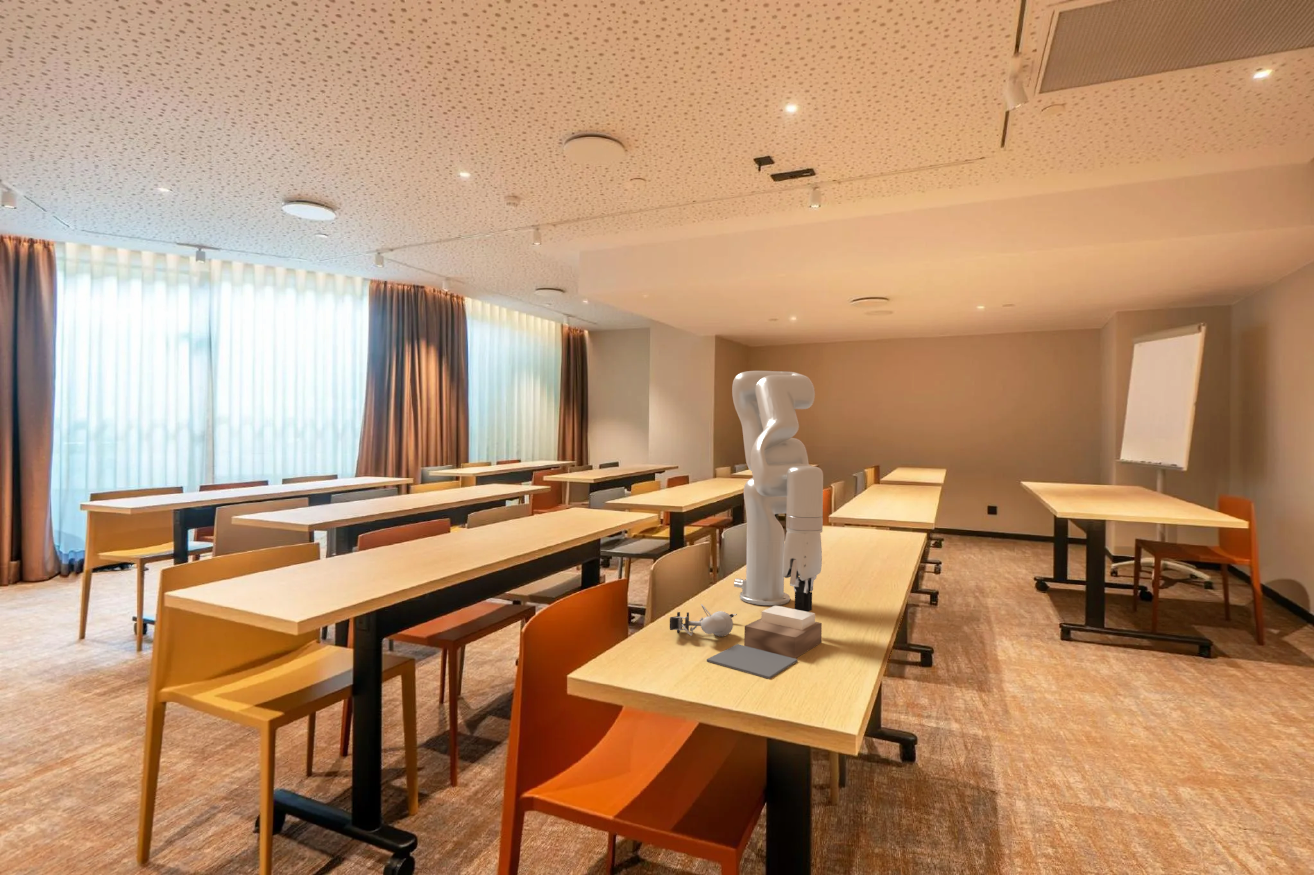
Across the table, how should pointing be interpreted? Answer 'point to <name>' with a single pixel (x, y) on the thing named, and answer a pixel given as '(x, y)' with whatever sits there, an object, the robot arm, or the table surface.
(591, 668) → the table surface
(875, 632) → the table surface
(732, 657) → the mat
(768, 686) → the table surface
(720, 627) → the clip-on lamp
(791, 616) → the tile
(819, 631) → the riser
